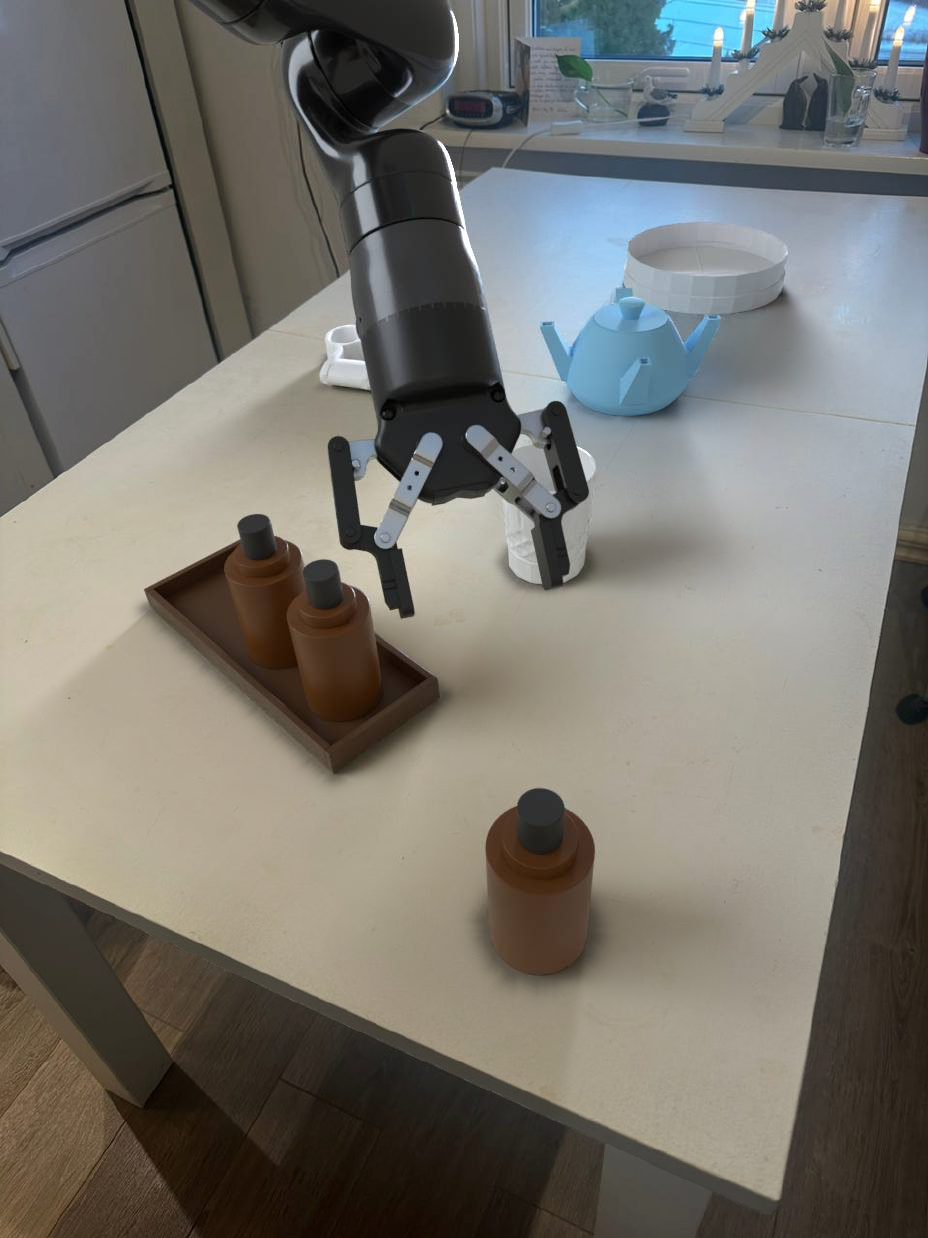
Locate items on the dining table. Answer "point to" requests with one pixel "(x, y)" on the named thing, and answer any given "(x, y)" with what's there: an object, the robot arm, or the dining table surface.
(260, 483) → the dining table surface
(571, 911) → the bottle
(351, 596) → the bottle near
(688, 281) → the dish
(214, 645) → the tray
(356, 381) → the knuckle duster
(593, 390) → the teapot
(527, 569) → the white cup
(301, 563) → the bottle mid
